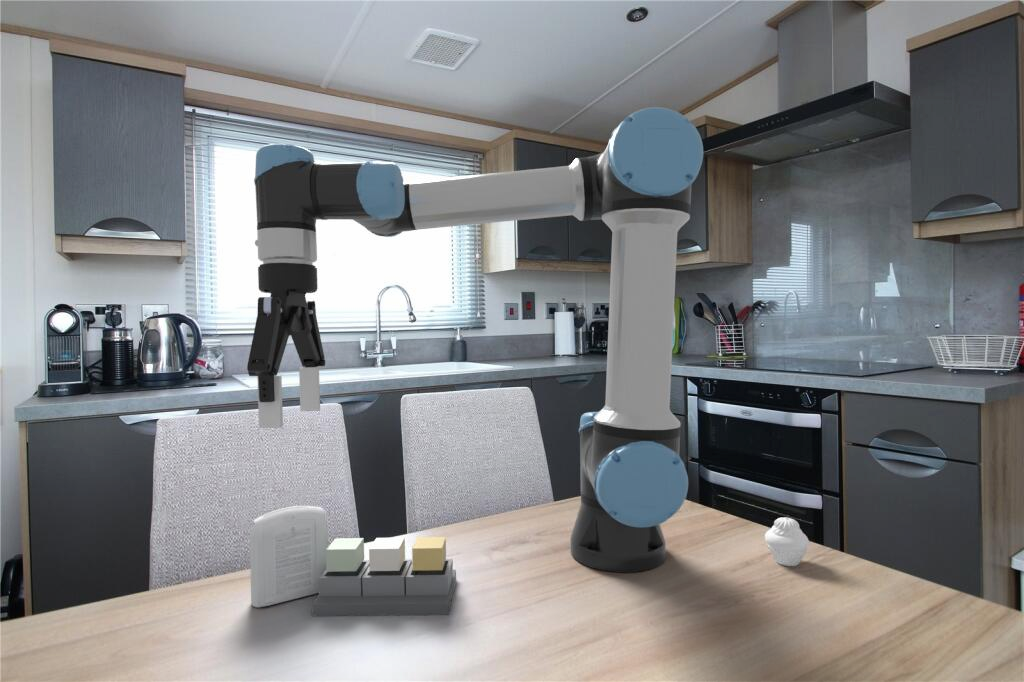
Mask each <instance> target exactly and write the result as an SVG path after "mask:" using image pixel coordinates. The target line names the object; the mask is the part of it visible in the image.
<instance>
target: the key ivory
mask: <svg viewBox="0 0 1024 682" xmlns="http://www.w3.org/2000/svg"><path fill="white" fill-rule="evenodd" d="M405 540H406V537H404V536H403V537H376V538H375V540H374V541H373V543H372V544H371V545H370V547H369V548H368V558H369V559H368V560H369V566H370V571H399V570H400V568H401V566H402V564H403V562H404V560H406V541H405Z"/></svg>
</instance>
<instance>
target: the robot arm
mask: <svg viewBox="0 0 1024 682" xmlns="http://www.w3.org/2000/svg"><path fill="white" fill-rule="evenodd" d="M703 158H704V145H703V141H702V137H701V135H700V132H699V131H698V129H697V127H696V126H695V124H693V122H692V123H691V121H690V120H689V119H688V118H687V117H686V116H685V115H683V114H681V113H680V112H678V111H676V110H674V109H671V108H667V107H661V106H652V107H646V108H642V109H639V110H637V111H634V112H633V113H630V115H628V116H627V117H625V119H623V120H622V121H621V122H620V123H619V124H618V125H617V126H616V127H615V129H613V131H612V133H611V135H610V137H609V140H608V144H607V146H606V148H605V149H604V151H603V152H600V153H598V154H594V155H591V156H587V157H585V156H584V157H576V158H575V159H574V160H573V161H572V163H570V164H569V165H563V166H554V167H553V166H552V167H546V168H545V167H544V168H543V167H542V168H534V169H525V170H523V169H522V170H514V171H512V170H511V171H504V172H503V171H502V172H501V171H500V172H495V173H494V172H493V173H483V174H481V173H480V174H474V175H472V174H471V175H461V176H454V177H443V178H433V179H432V178H431V179H424V180H423V179H422V180H414V181H408V182H407V181H406V182H404V178H403V175H402V171H401V169H400V167H399V165H397V164H396V163H394V162H389V161H388V162H385V161H377V160H368V161H367V160H366V161H355V162H352V161H351V162H346V161H345V162H317V161H315V157H314V155H313V153H312V152H311V151H310V149H307V148H305V147H303V146H299V145H295V144H291V145H290V144H285V143H272V144H266V145H264V146H261V147H260V148H259V149H258V150H257V152H256V155H255V168H254V169H255V174H254V175H255V176H254V179H253V182H254V186H255V205H256V225H257V226H256V230H257V231H256V232H257V233H256V234H257V238H256V239H255V240H254V245H255V247H257V259H258V260H259V261H260V262H262V264H259V266H258V267H257V275H258V276H257V278H258V280H257V281H258V290H259V291H260V292H261V293H264V294H270V296H262V297H261V296H260V297H258V298H257V317H256V320H255V326H254V330H253V335H252V341H251V345H250V351H249V356H248V361H247V366H246V367H247V369H246V370H247V373H248V376H249V377H257V404H258V408H257V409H258V429H276V428H277V429H279V428H283V426H284V420H283V419H284V417H283V386H282V375H280V374H279V375H278V373H279V369H280V366H281V363H282V359H283V357H284V354H285V351H286V347H287V343H288V340H289V338H290V336H291V340H292V341H293V345H294V347H295V350H296V352H297V356H298V358H299V360H300V363H301V366H302V367H301V366H300V367H299V368H298V370H299V371H298V372H299V373H298V375H299V377H298V378H299V404H300V406H299V409H300V412H319V411H321V396H320V395H321V393H320V391H321V390H320V388H321V387H320V367H325V366H326V359H325V353H324V348H323V347H324V346H323V343H322V339H321V338H322V337H321V334H320V329H319V323H318V319H317V312H316V311H317V309H316V302H315V300H307V299H306V294H313V293H316V292H317V291H318V289H319V288H318V268H317V267H316V265H314V263H316V262H317V261H318V251H317V249H318V246H317V244H318V243H317V229H316V228H317V226H316V223H317V220H321V221H326V220H328V221H329V220H350V221H351V220H353V221H354V222H356V223H357V224H359V225H361V226H362V227H363V228H365V229H366V230H367V231H369V232H370V233H372V234H373V235H376V236H378V237H385V238H392V237H395V236H398V235H400V234H402V233H403V232H412V231H417V230H427V229H428V230H429V229H430V230H431V229H437V228H439V229H440V228H449V227H458V226H461V227H462V226H471V225H480V224H481V225H483V224H491V223H492V224H493V223H502V222H513V221H523V220H525V221H526V220H534V219H535V220H536V219H544V218H557V217H565V216H566V217H567V216H573V217H574V218H576V219H577V220H578V221H581V222H583V221H590V220H591V221H592V220H593V221H594V220H595V221H597V220H602V222H604V224H605V225H606V226H607V227H608V228H609V229H610V230H611V232H612V234H611V235H612V236H611V254H610V255H611V258H610V279H609V281H610V282H609V283H610V284H609V305H608V306H609V308H608V330H607V331H608V332H607V355H606V356H607V358H606V377H605V379H606V380H605V384H606V385H605V402H604V403H605V404H604V406H603V407H602V409H600V410H599V411H589V412H585V413H583V414H581V416H580V420H579V421H580V422H579V428H578V434H579V451H580V452H579V453H580V454H579V455H580V456H579V460H580V461H579V462H580V463H579V464H580V465H579V466H580V471H579V473H580V507H579V509H578V513H577V516H576V519H575V522H574V526H573V528H572V532H571V534H570V554H571V556H572V557H573V559H575V560H576V561H577V562H579V563H580V564H583V565H585V566H587V567H590V568H594V569H597V570H602V571H607V572H615V573H632V572H633V573H636V572H643V571H648V570H651V569H653V568H656V567H659V566H660V565H662V564H663V562H664V561H665V560H666V557H667V547H666V545H667V544H666V540H665V536H664V533H663V530H662V528H661V524H663V523H665V522H666V521H668V520H669V519H671V518H672V517H673V516H674V515H675V514H676V513H677V512H678V511H680V509H681V508H682V506H683V504H684V502H685V500H686V498H687V496H688V495H687V494H688V490H689V477H688V472H687V470H686V467H685V463H684V461H683V460H682V459H681V457H680V451H681V450H680V448H681V446H680V445H681V424H682V423H681V421H680V420H679V419H678V418H677V417H676V416H675V414H674V413H672V411H671V409H670V406H671V405H670V403H671V387H672V386H671V384H672V383H671V382H672V362H673V361H672V360H673V359H672V358H673V342H674V341H673V337H674V315H675V313H674V312H675V292H676V269H677V249H678V232H679V230H680V229H681V228H682V227H683V226H684V225H685V224H686V223H687V222H688V221H689V220H690V219H691V201H692V184H693V183H694V182H695V180H696V179H697V177H698V175H699V172H700V170H701V167H702V164H703V160H704V159H703Z"/></svg>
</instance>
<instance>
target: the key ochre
mask: <svg viewBox="0 0 1024 682" xmlns="http://www.w3.org/2000/svg"><path fill="white" fill-rule="evenodd" d="M411 550H412V552H411V554H412V557H411V558H412V559H411V560H412V562H413V571H419V570H443V567H444V563H445V560H446V559H447V537H446V536H426V537H425V536H423V537H422V536H420V537H419V536H417V538H416V540H415V541H414V543H413V546H412V549H411Z"/></svg>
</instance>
